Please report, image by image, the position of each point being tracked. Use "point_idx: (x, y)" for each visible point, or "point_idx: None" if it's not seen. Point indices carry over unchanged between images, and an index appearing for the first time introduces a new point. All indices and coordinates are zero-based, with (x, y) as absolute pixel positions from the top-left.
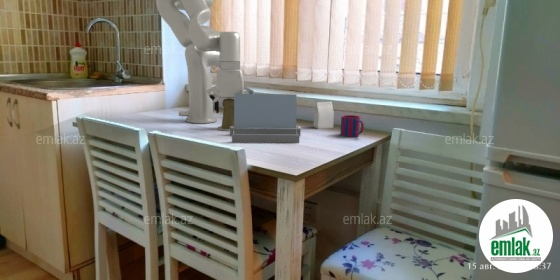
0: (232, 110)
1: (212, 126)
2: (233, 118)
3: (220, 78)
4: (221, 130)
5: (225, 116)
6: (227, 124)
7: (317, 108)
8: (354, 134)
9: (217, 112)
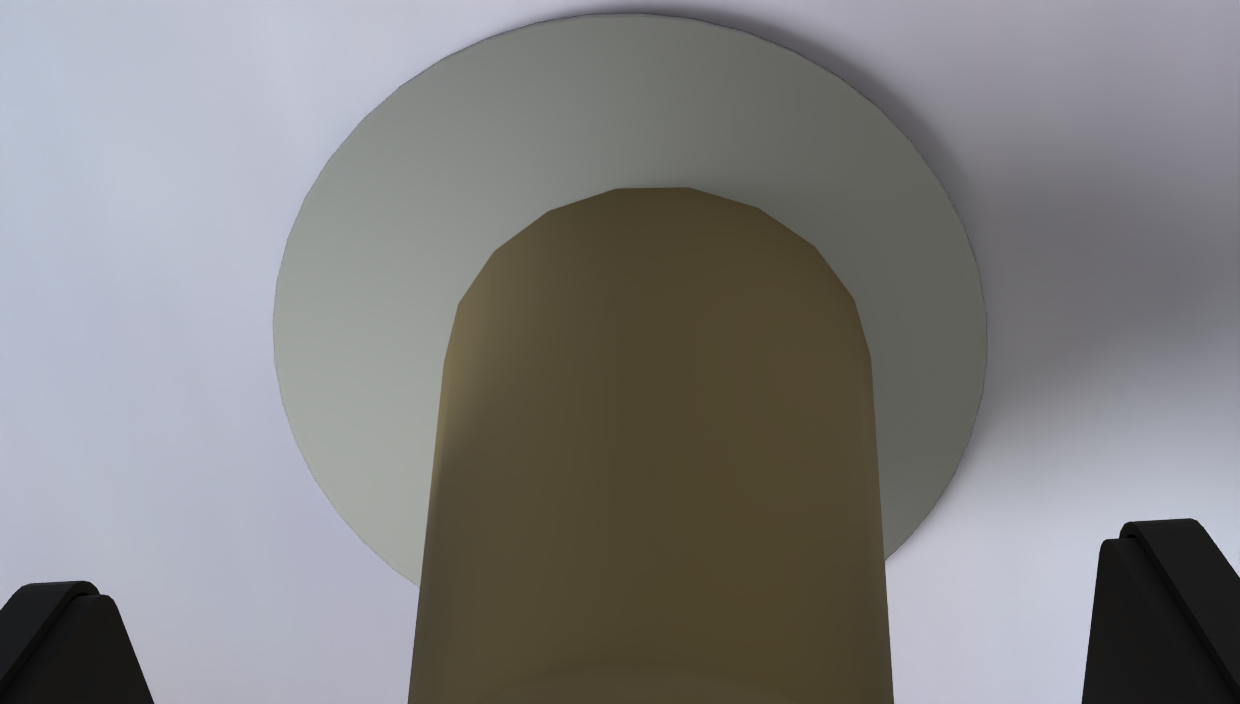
0: (471, 624)
1: None
2: (480, 420)
3: None
4: (841, 81)
5: (769, 431)
6: (682, 256)
7: None
8: None
9: (1141, 525)
